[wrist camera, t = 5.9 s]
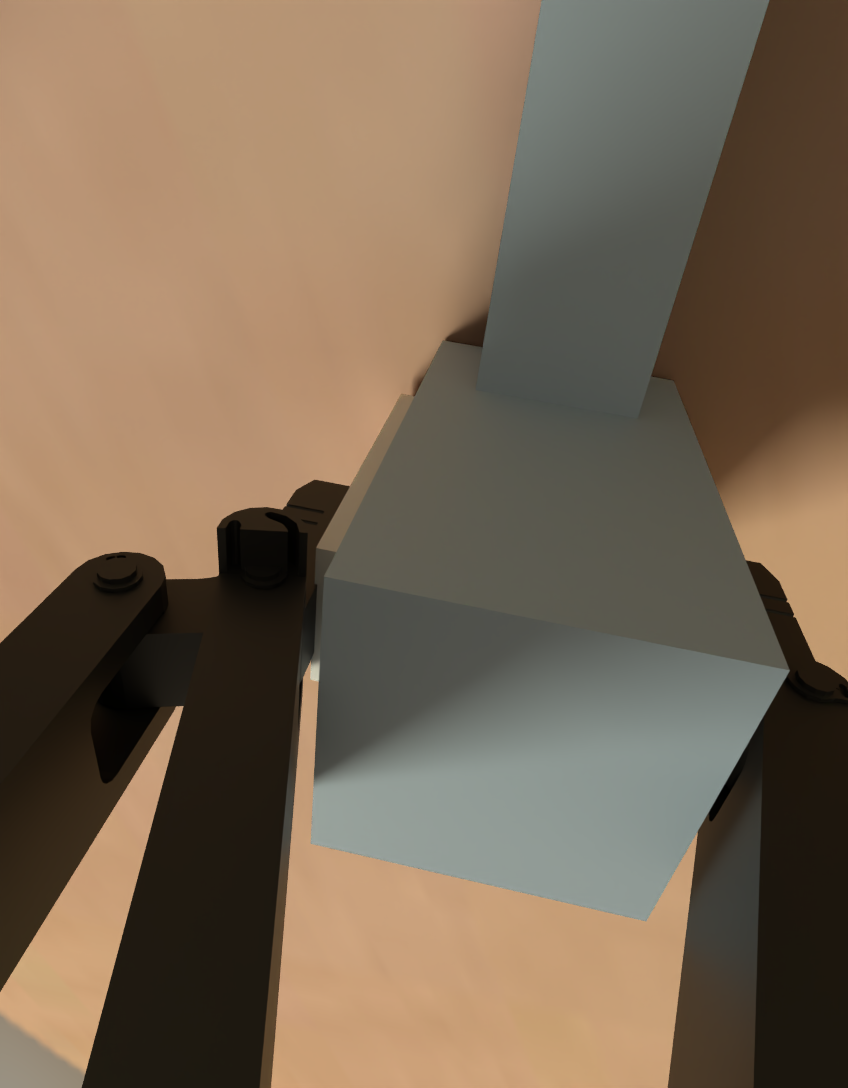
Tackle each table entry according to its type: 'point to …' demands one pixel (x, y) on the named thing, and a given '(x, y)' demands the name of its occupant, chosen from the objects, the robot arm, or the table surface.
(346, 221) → the table surface
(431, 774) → the push stick
